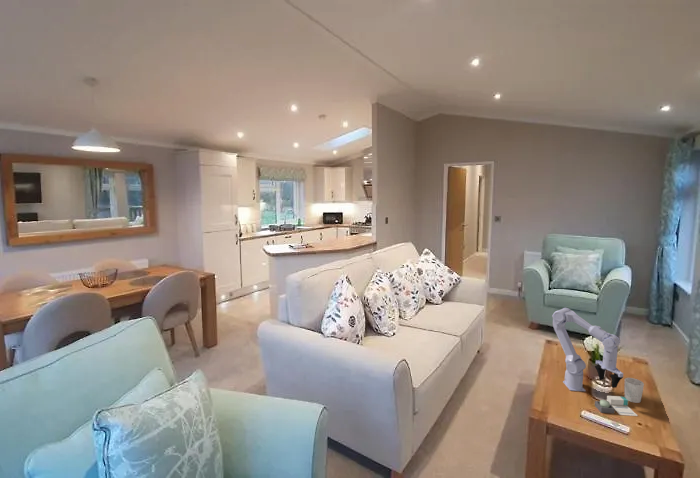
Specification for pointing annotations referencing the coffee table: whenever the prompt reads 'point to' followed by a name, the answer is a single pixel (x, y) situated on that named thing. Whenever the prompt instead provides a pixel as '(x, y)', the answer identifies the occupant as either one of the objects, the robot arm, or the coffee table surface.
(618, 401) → the eraser
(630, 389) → the white cup
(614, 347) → the robot arm
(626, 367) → the coffee table surface
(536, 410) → the coffee table surface
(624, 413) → the paper
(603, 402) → the button
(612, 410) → the button housing
